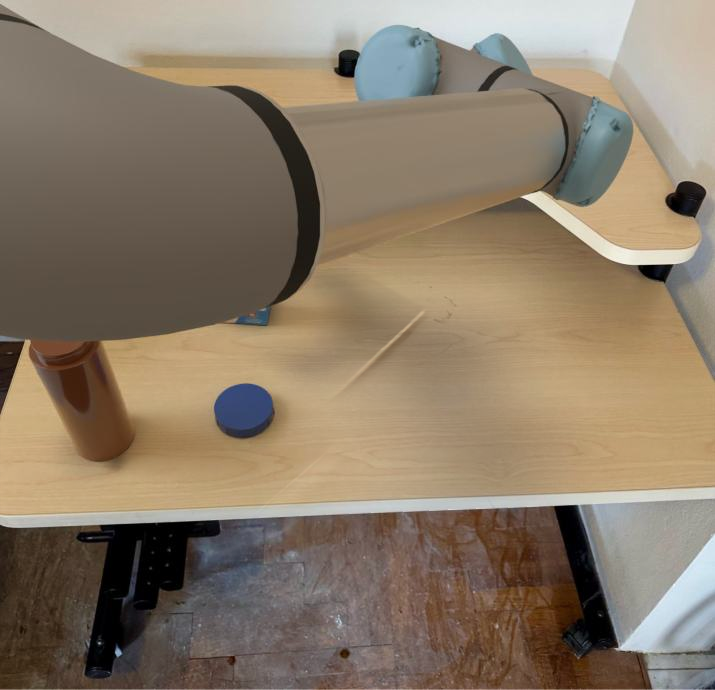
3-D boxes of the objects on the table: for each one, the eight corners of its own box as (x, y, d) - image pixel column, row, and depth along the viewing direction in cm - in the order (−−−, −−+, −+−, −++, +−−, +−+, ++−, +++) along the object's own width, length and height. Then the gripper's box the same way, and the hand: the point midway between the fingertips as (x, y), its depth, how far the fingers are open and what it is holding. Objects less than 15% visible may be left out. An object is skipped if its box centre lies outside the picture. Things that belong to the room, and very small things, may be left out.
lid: (248, 382, 84) (247, 374, 83) (285, 414, 81) (284, 405, 80) (203, 414, 81) (201, 405, 80) (240, 448, 78) (239, 439, 77)
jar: (95, 472, 75) (47, 371, 62) (63, 437, 78) (10, 334, 65) (146, 435, 79) (110, 333, 66) (113, 404, 82) (72, 300, 69)
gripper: (406, 250, 65) (266, 336, 77) (429, 121, 81) (311, 208, 94) (353, 197, 61) (215, 296, 74) (388, 74, 78) (271, 171, 90)
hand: (269, 247), depth 84 cm, fingers open, 13 cm apart
